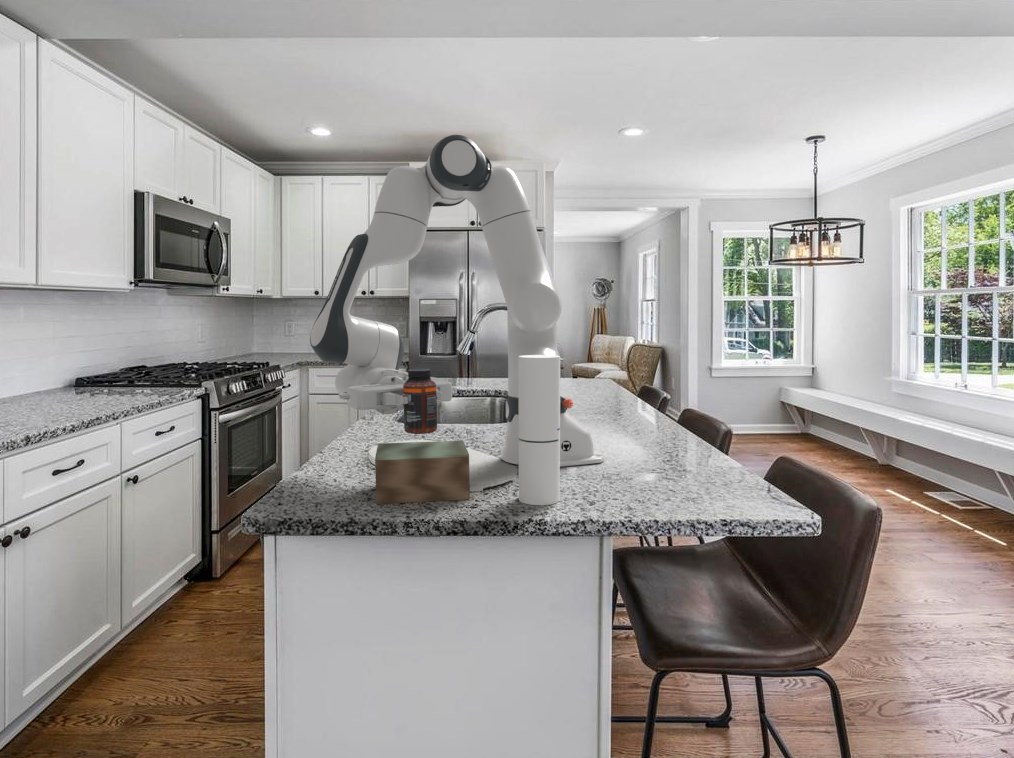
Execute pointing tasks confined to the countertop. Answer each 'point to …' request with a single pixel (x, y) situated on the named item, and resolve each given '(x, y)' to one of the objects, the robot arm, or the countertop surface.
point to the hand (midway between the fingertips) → (422, 398)
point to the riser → (422, 472)
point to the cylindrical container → (539, 429)
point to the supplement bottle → (420, 402)
